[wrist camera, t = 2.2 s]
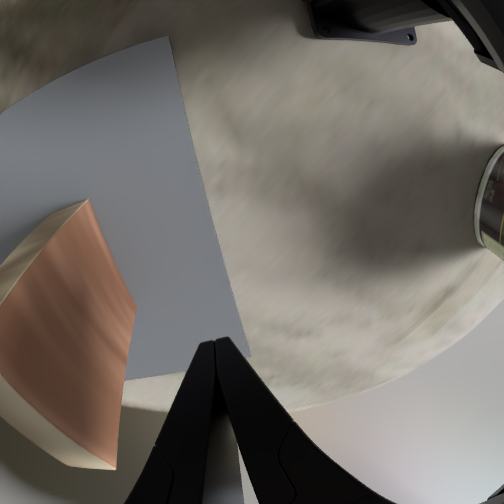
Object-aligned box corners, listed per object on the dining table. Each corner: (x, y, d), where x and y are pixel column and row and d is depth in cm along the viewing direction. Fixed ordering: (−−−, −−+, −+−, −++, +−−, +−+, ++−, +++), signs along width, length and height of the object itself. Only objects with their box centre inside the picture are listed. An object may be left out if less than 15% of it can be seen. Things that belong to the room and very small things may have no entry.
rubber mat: (169, 37, 10) (168, 35, 10) (250, 352, 20) (251, 356, 20) (-75, 183, 9) (-79, 185, 8) (39, 383, 19) (38, 387, 18)
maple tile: (89, 198, 12) (-25, 344, 4) (137, 307, 16) (116, 469, 7) (51, 213, 12) (-61, 349, 4) (102, 315, 16) (67, 465, 7)
